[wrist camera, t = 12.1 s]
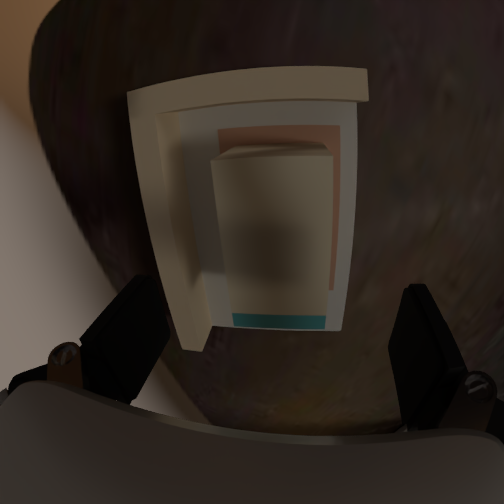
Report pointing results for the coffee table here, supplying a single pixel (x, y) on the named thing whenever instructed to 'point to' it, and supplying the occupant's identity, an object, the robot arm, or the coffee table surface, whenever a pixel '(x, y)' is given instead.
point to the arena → (219, 141)
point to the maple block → (276, 232)
